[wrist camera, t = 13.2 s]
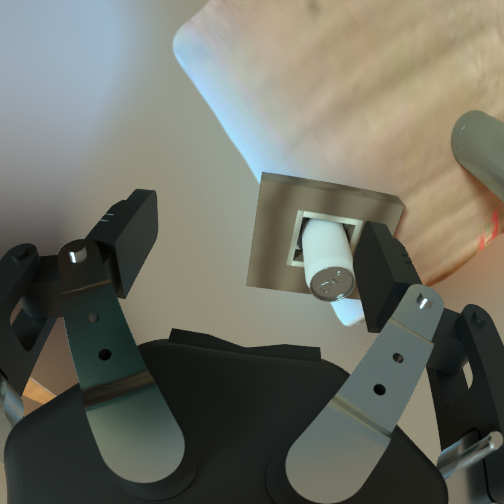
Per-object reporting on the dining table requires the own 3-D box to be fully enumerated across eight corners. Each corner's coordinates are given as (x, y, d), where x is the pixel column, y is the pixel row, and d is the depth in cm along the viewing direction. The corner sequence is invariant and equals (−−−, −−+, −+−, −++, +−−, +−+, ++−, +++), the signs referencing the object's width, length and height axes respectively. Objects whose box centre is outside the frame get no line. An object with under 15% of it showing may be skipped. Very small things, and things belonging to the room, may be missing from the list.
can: (351, 233, 46) (368, 286, 37) (319, 255, 49) (326, 311, 40) (326, 204, 44) (339, 254, 34) (292, 229, 47) (295, 284, 37)
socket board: (397, 196, 42) (404, 206, 40) (362, 288, 53) (365, 301, 50) (262, 171, 42) (260, 181, 39) (247, 273, 53) (246, 286, 50)
